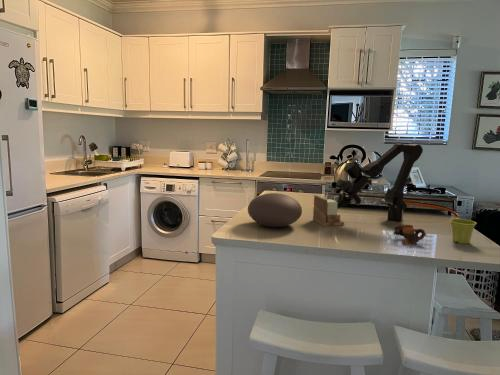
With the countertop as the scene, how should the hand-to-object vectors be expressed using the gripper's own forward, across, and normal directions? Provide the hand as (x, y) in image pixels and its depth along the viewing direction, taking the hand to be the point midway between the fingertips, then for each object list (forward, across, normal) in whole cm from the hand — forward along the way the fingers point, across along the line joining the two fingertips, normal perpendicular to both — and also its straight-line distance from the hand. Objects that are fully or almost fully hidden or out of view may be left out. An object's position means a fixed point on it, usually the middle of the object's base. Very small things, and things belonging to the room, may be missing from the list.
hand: (334, 208), depth 181 cm
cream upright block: (+6, 0, +2) cm, 6 cm away
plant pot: (-22, +38, +32) cm, 55 cm away
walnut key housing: (+7, 0, +3) cm, 8 cm away
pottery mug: (-6, +35, +16) cm, 39 cm away
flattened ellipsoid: (+27, +1, -17) cm, 32 cm away
